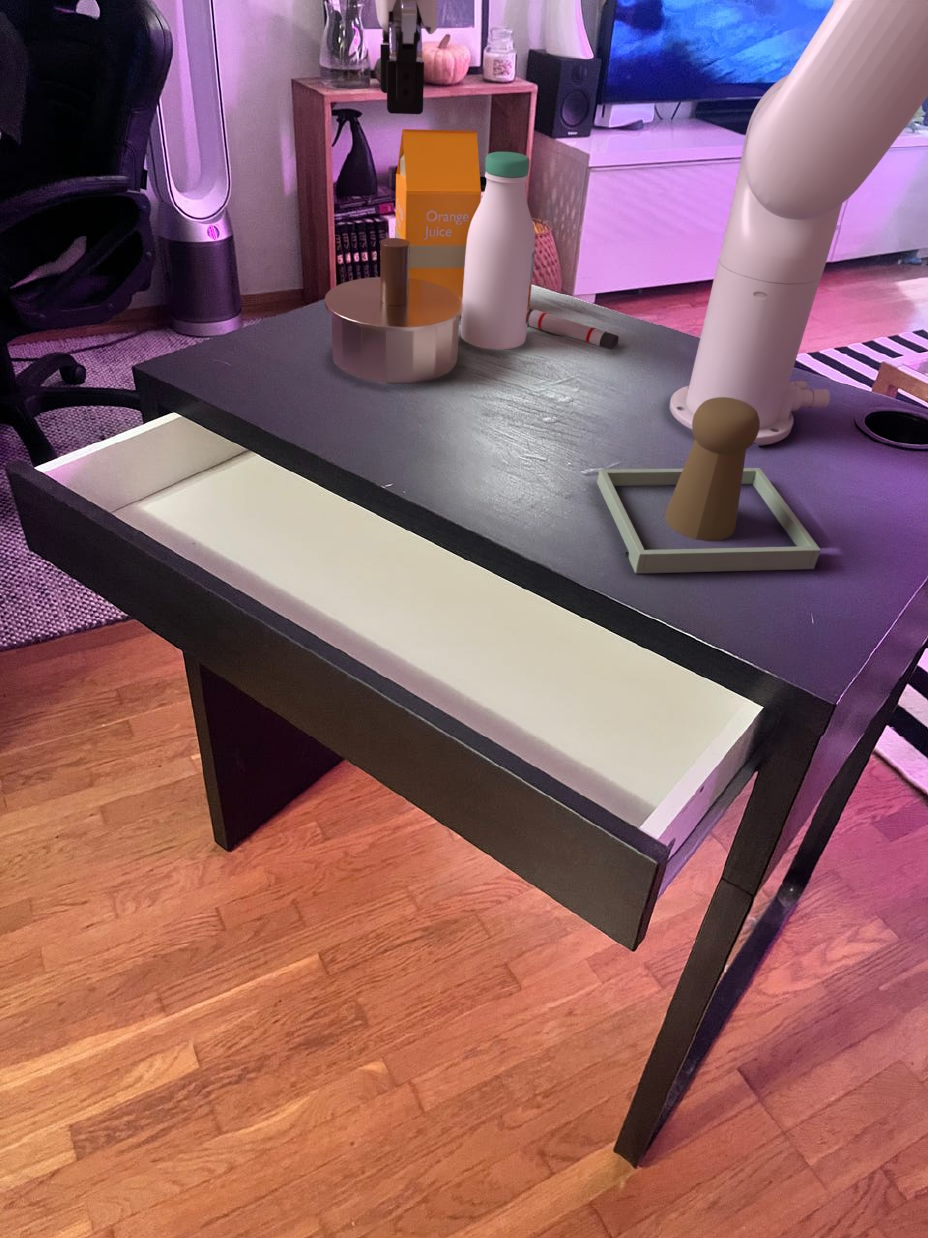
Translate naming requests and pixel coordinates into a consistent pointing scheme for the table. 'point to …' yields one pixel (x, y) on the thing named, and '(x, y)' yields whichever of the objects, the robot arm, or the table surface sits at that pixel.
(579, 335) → the marker
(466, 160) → the orange juice
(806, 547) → the grey rectangular frame
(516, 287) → the milk bottle
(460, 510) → the table surface
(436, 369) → the pan
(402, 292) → the pan lid
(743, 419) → the brown chess pawn
